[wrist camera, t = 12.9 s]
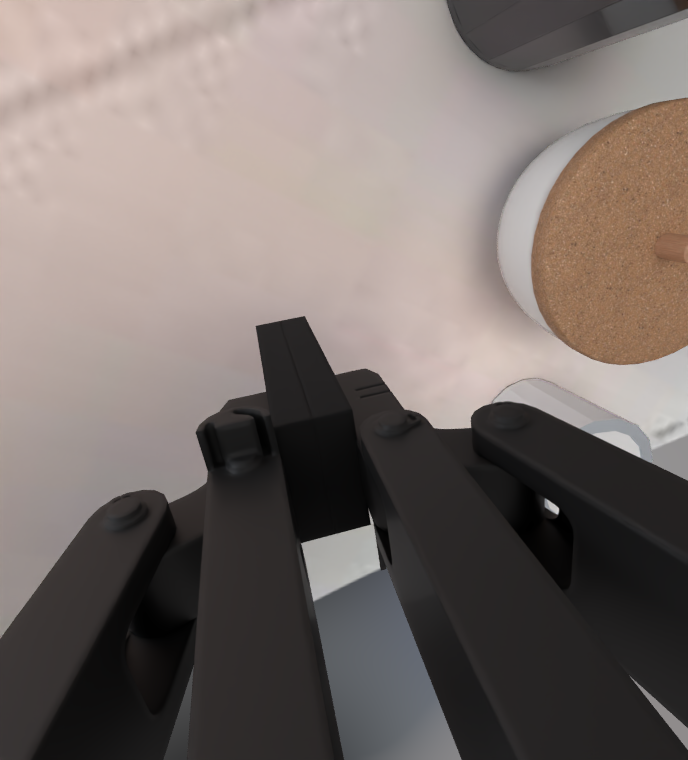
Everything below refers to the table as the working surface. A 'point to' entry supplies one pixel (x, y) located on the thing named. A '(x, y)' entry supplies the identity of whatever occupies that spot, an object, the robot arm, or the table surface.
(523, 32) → the pen cup
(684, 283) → the trinket box
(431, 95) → the table surface
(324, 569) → the table surface
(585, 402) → the white cylinder
